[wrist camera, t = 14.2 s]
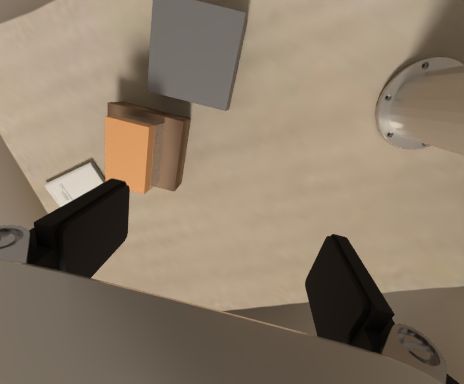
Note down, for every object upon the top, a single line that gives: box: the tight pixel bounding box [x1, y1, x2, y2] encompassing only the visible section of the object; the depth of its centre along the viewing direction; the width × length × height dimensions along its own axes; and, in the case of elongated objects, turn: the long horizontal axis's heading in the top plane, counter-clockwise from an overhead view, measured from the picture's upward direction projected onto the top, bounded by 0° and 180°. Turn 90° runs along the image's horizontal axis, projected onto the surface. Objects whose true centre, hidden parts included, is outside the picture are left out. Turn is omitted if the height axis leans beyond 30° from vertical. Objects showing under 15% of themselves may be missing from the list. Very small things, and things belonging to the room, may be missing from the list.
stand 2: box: [147, 0, 247, 111], centre depth 33 cm, size 12×12×4 cm
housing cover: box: [105, 115, 155, 194], centre depth 33 cm, size 10×6×2 cm, turn 167°
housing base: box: [115, 114, 165, 189], centre depth 36 cm, size 10×6×4 cm, turn 167°
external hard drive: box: [44, 161, 105, 207], centre depth 46 cm, size 2×8×12 cm
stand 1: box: [108, 102, 191, 191], centre depth 39 cm, size 12×12×4 cm
